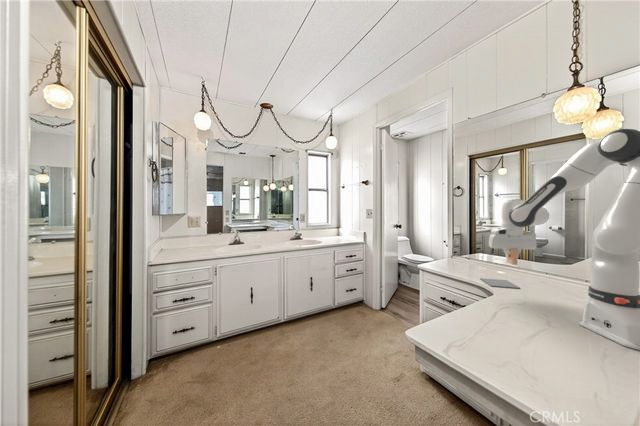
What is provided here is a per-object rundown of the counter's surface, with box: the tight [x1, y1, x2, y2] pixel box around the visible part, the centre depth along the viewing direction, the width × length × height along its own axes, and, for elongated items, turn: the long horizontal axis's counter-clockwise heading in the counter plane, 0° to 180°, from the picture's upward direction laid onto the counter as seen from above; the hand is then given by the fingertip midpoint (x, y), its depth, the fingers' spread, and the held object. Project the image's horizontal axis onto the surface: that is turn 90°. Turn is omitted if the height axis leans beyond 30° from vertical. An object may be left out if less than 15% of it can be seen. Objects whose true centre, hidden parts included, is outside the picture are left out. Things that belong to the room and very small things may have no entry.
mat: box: [479, 277, 521, 290], centre depth 137 cm, size 14×14×1 cm
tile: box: [505, 249, 519, 266], centre depth 123 cm, size 6×2×8 cm, turn 167°
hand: (511, 257), depth 123 cm, fingers closed on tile, 2 cm apart
